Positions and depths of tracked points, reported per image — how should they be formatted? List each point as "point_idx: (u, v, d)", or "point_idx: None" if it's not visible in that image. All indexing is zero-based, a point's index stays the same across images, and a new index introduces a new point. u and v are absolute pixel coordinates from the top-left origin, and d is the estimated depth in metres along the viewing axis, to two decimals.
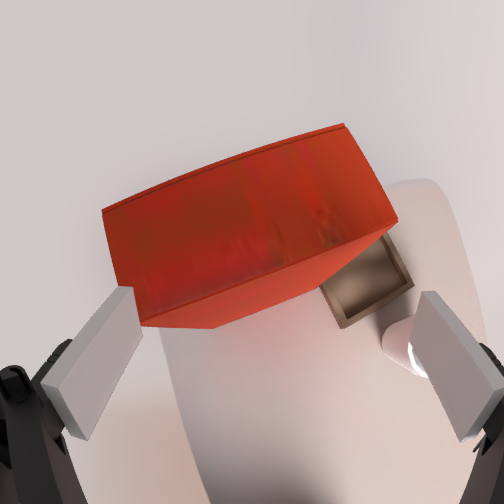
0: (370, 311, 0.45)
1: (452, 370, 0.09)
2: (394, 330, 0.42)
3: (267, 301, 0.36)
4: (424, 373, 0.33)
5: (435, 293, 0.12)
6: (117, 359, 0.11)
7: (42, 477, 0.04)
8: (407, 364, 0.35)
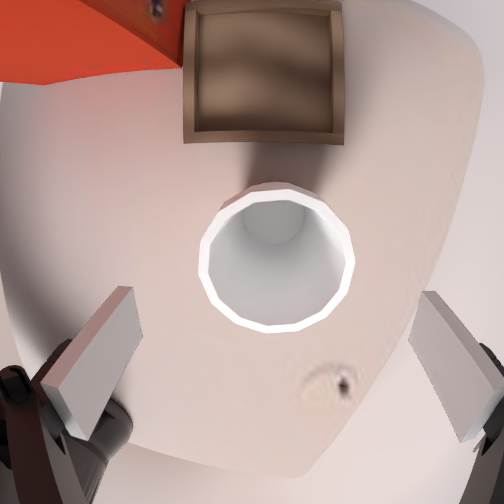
0: (239, 138, 0.26)
1: (452, 370, 0.09)
2: None
3: (26, 54, 0.14)
4: (219, 301, 0.20)
5: (435, 293, 0.12)
6: (117, 359, 0.11)
7: (42, 477, 0.04)
8: None
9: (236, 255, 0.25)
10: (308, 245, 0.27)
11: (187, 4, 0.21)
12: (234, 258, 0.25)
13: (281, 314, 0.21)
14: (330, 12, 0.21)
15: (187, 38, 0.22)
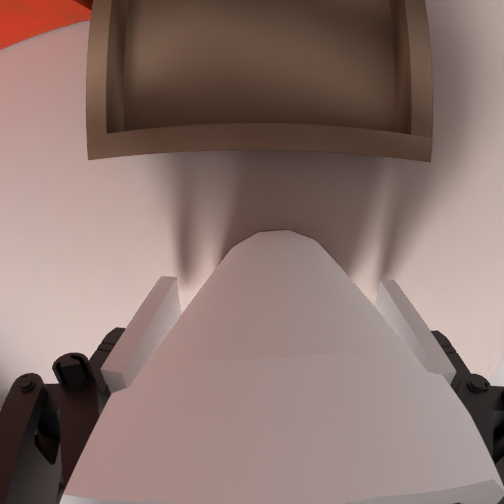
0: (200, 143, 0.11)
1: None
2: (220, 280, 0.10)
3: None
4: None
5: (393, 282, 0.13)
6: None
7: None
8: None
9: None
10: None
11: None
12: None
13: None
14: None
15: None
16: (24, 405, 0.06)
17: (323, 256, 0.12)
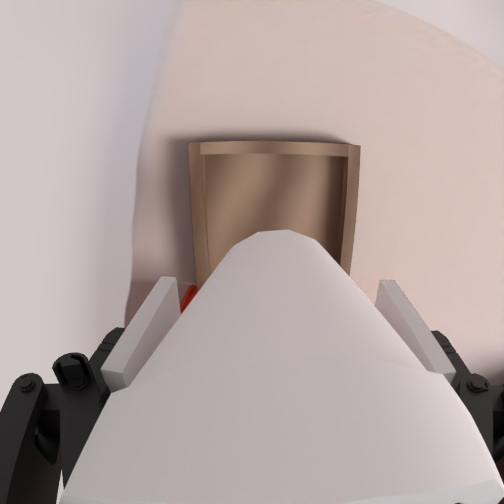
0: (349, 249, 0.27)
1: None
2: (220, 279, 0.10)
3: None
4: None
5: (393, 282, 0.13)
6: None
7: None
8: None
9: None
10: None
11: None
12: None
13: None
14: (202, 154, 0.25)
15: None
16: (24, 405, 0.06)
17: (323, 256, 0.11)
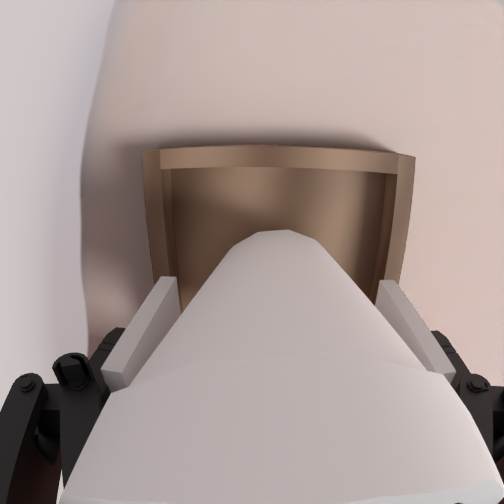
0: None
1: None
2: (220, 279, 0.10)
3: None
4: None
5: (393, 282, 0.13)
6: None
7: None
8: None
9: None
10: None
11: None
12: None
13: None
14: None
15: None
16: (24, 405, 0.06)
17: (323, 255, 0.11)
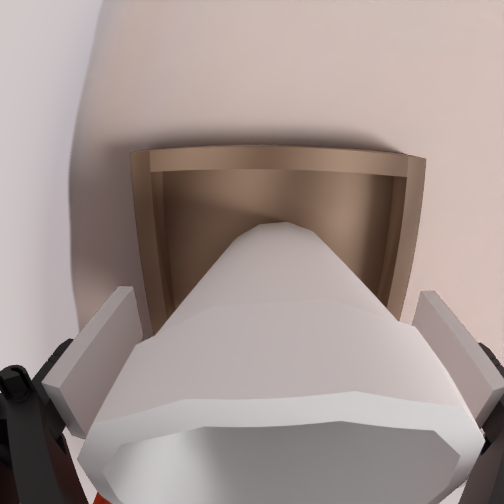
0: None
1: (451, 370, 0.09)
2: (227, 260, 0.11)
3: None
4: None
5: (434, 293, 0.12)
6: (118, 359, 0.11)
7: (43, 477, 0.04)
8: None
9: None
10: None
11: None
12: None
13: None
14: None
15: None
16: None
17: (318, 243, 0.13)
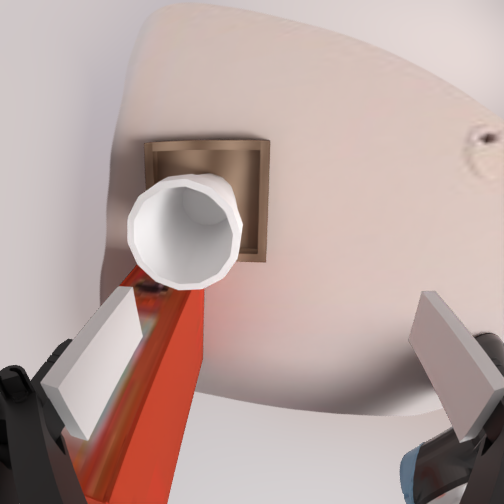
0: (264, 222, 0.35)
1: (452, 370, 0.09)
2: None
3: (183, 376, 0.31)
4: (143, 264, 0.25)
5: (435, 293, 0.12)
6: (117, 359, 0.11)
7: (42, 477, 0.04)
8: None
9: (167, 232, 0.31)
10: (228, 225, 0.32)
11: None
12: (166, 234, 0.30)
13: (192, 276, 0.27)
14: (154, 151, 0.33)
15: None
16: None
17: (216, 177, 0.32)
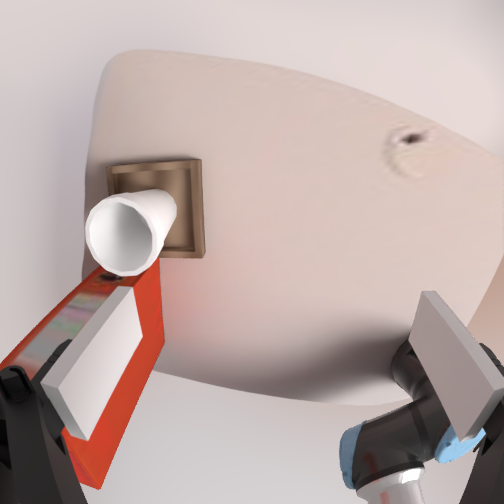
0: (198, 225, 0.44)
1: (452, 370, 0.09)
2: None
3: None
4: (97, 257, 0.34)
5: (435, 293, 0.12)
6: (117, 359, 0.11)
7: (42, 477, 0.04)
8: None
9: (121, 235, 0.39)
10: None
11: None
12: (119, 237, 0.39)
13: (131, 266, 0.35)
14: (114, 173, 0.42)
15: None
16: None
17: (157, 192, 0.41)
